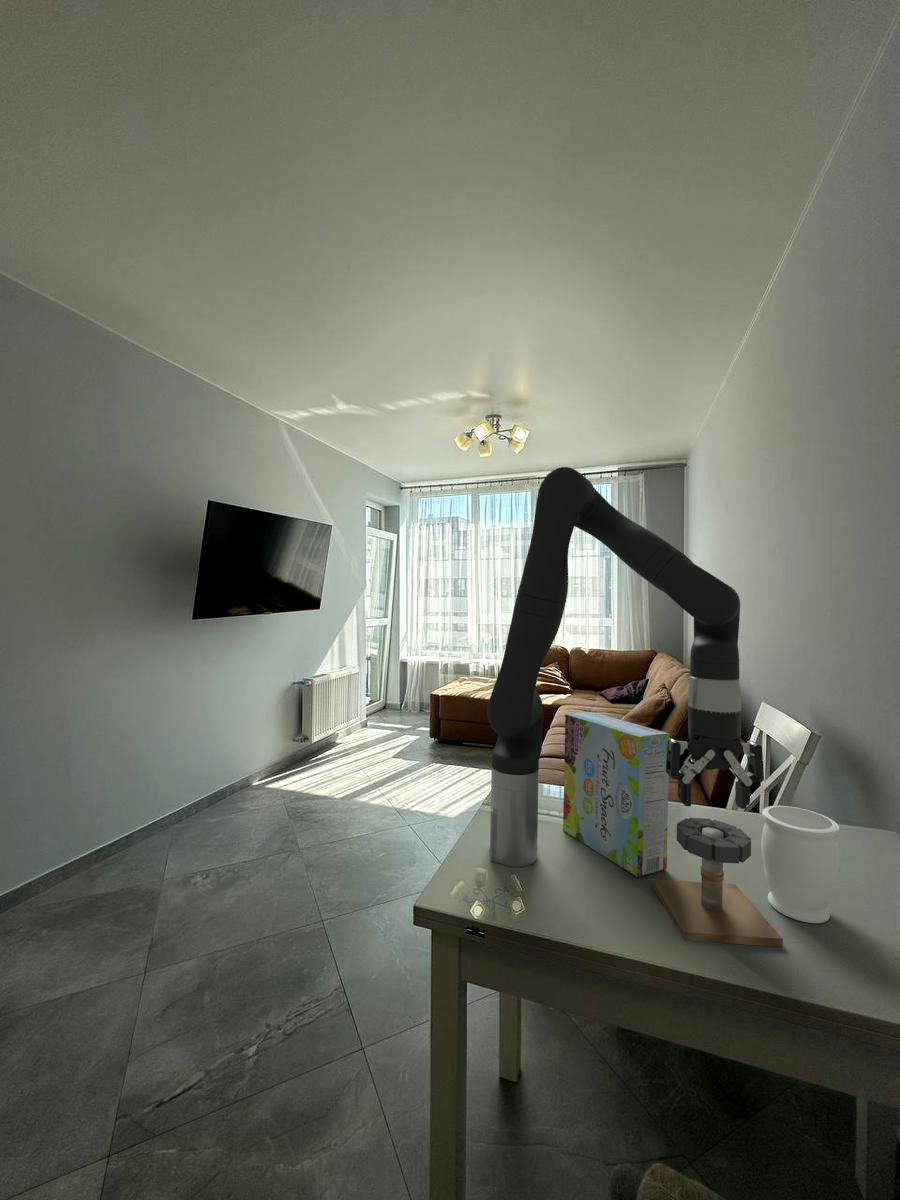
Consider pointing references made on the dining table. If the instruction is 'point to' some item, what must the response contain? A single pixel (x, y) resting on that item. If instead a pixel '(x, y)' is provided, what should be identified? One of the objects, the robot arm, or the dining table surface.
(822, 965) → the dining table surface
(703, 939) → the post base
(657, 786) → the snack box
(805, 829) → the jar
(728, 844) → the ring
